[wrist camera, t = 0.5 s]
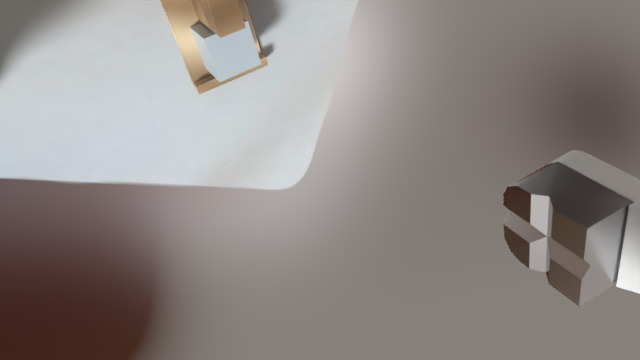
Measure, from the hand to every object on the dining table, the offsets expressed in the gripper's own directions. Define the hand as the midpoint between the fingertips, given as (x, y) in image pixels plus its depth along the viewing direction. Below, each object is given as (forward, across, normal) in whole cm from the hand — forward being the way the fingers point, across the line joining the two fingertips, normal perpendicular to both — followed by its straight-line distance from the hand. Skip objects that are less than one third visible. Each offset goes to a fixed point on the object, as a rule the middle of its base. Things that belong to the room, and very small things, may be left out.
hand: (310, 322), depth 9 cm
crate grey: (+42, -10, +10) cm, 45 cm away
